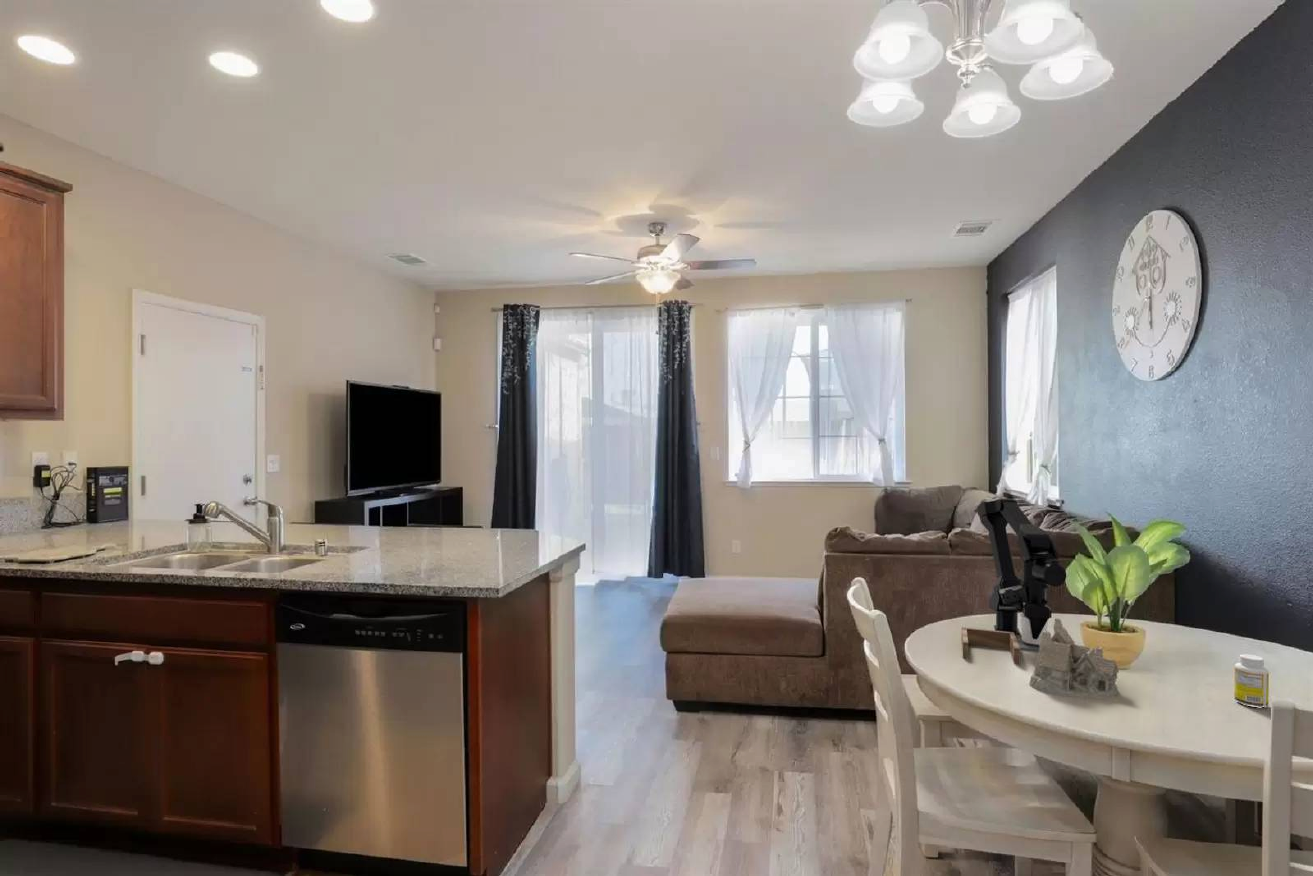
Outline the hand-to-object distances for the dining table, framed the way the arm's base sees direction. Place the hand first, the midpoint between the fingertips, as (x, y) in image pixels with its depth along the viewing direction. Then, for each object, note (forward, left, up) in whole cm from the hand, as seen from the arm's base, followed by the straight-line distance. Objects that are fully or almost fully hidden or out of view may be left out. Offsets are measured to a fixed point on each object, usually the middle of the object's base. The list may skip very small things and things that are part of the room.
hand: (1033, 635), depth 189 cm
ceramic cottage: (+32, +5, -3) cm, 32 cm away
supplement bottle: (+27, +39, -3) cm, 47 cm away
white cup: (0, 0, -2) cm, 2 cm away
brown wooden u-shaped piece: (+11, -11, -3) cm, 16 cm away
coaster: (0, 0, -3) cm, 3 cm away
